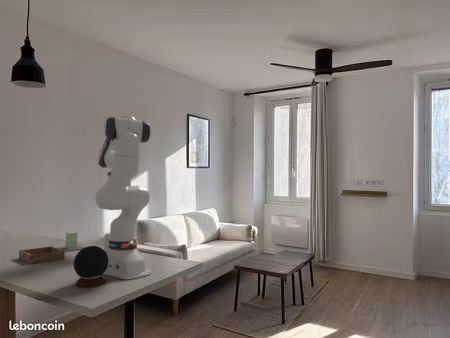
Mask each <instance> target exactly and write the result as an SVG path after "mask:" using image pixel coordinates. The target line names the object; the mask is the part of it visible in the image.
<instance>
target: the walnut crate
mask: <svg viewBox="0 0 450 338" xmlns="http://www.w3.org/2000/svg"><path fill="white" fill-rule="evenodd" d="M65 253H66V252H65V251H63V250H61V249H58V248H57V247H55V246H53V245H51V246H45V247H44V246H43V247H42V246H41V247H35V248H28V249H19V250H18V259H19V260H21V261H24V262H25V263H28V264H29V265H34V264H39V263H40V264H41V263H46V262H53V261H58V260H59V261H60V260H64V259H65V257H66V256H65Z"/></svg>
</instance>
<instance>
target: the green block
mask: <svg viewBox="0 0 450 338" xmlns="http://www.w3.org/2000/svg"><path fill="white" fill-rule="evenodd" d="M77 243H78V232H77V231H66V232H65V246H66V248H68V249H72V248H77V245H78V244H77Z"/></svg>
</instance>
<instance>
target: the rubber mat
mask: <svg viewBox="0 0 450 338" xmlns="http://www.w3.org/2000/svg"><path fill="white" fill-rule="evenodd" d="M56 248H58V249H61V250H63V251H65V253H67V252H68V253H69V252H75V251H80V250H82V249H83V248H85V246H82V245H78V244H77V248H72V249H68V248H66V245H65V246H59V247H56Z"/></svg>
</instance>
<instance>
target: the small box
mask: <svg viewBox="0 0 450 338" xmlns="http://www.w3.org/2000/svg"><path fill="white" fill-rule="evenodd" d="M109 240H110V231H108V232H105V233H104V244H103V246H104V249H103V250H104V251H105V252H106V253H108V251H109Z"/></svg>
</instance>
